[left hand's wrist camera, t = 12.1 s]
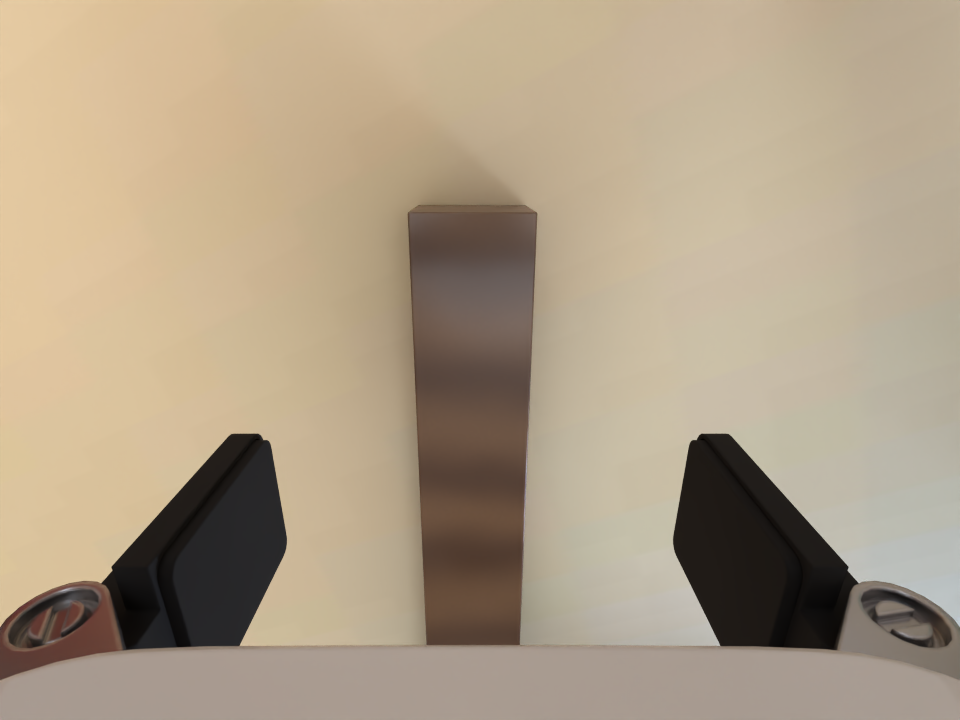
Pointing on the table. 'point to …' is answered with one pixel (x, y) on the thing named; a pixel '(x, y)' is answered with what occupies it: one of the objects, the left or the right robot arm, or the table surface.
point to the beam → (472, 413)
